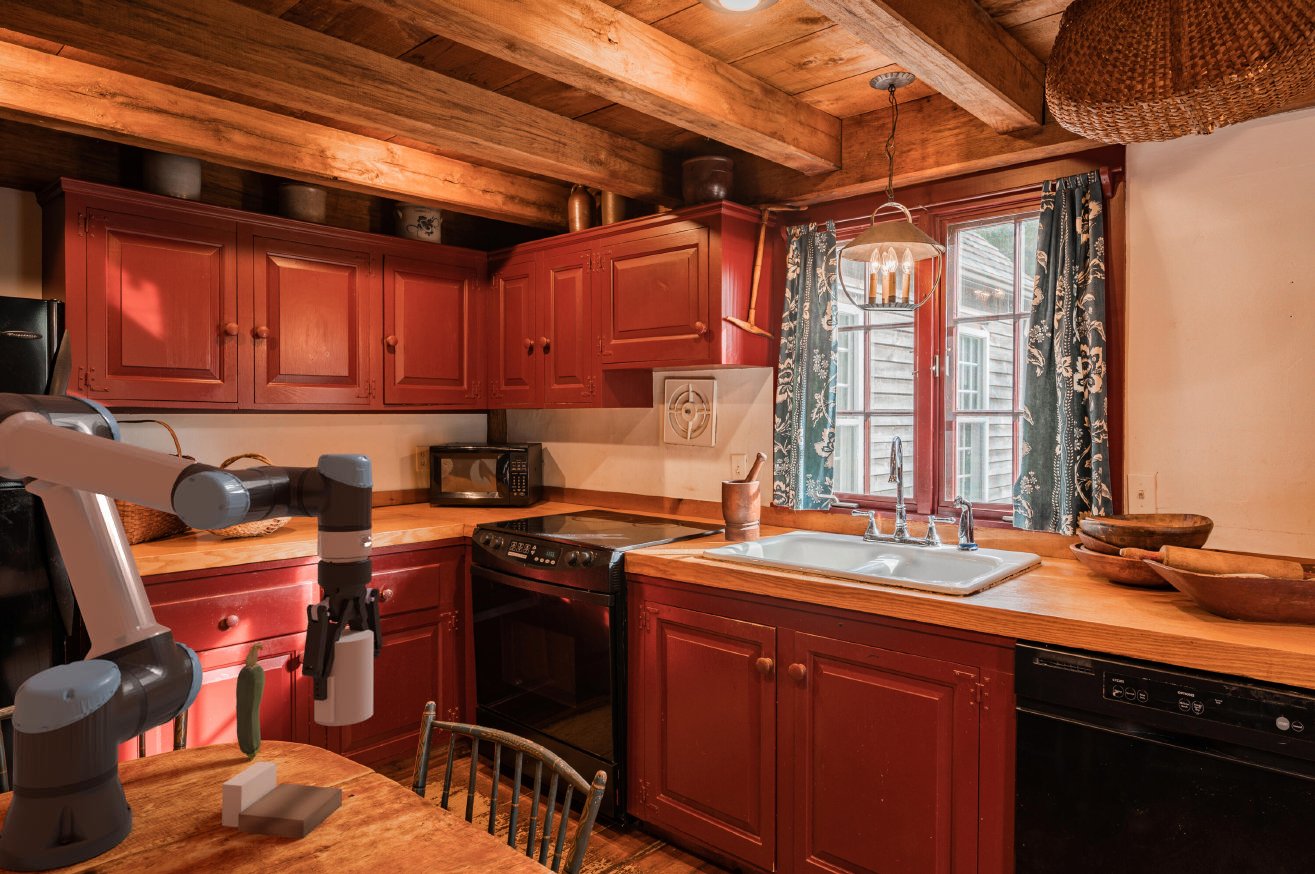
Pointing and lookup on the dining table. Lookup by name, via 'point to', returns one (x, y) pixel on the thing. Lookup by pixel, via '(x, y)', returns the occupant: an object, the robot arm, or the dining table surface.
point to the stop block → (246, 790)
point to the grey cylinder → (352, 678)
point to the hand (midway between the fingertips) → (344, 710)
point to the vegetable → (249, 703)
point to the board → (290, 810)
